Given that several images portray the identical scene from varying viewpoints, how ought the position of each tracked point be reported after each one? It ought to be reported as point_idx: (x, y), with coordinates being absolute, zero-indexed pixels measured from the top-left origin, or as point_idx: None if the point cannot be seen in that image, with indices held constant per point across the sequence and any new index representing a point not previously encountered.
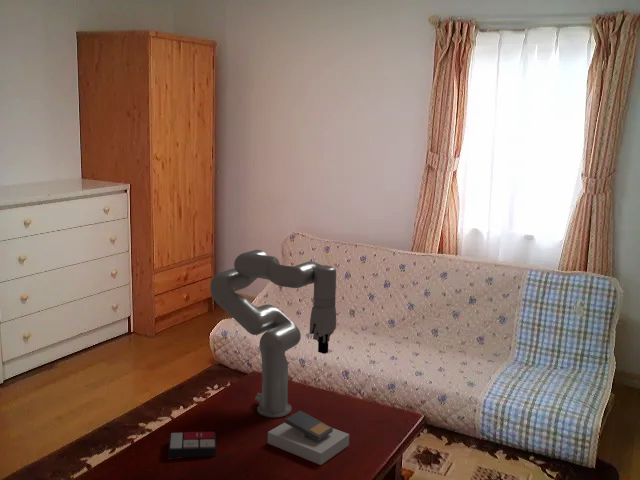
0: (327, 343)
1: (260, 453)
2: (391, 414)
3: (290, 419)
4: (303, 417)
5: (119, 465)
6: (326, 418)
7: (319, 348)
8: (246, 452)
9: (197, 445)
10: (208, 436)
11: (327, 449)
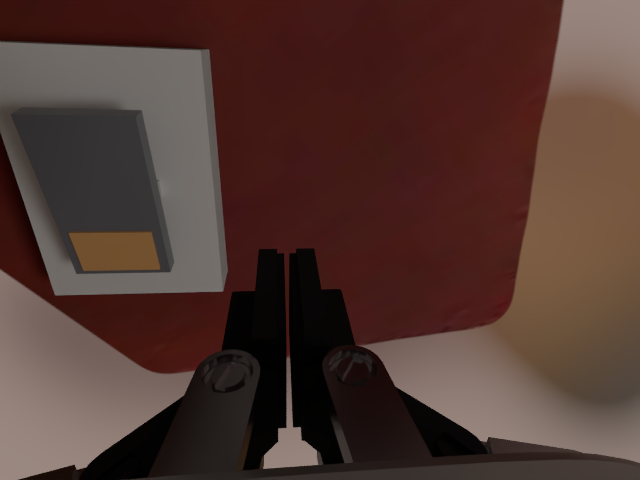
0: (301, 425)
1: None
2: (476, 263)
3: (33, 135)
4: (109, 163)
5: None
6: (335, 111)
7: (230, 314)
8: None
9: None
10: None
11: (93, 293)
